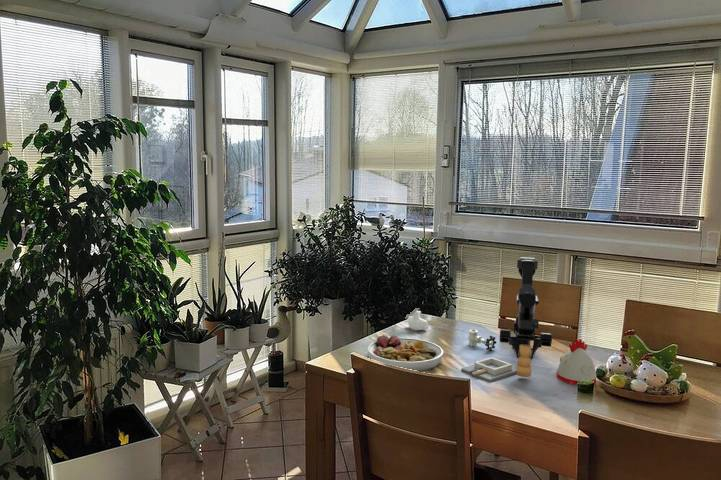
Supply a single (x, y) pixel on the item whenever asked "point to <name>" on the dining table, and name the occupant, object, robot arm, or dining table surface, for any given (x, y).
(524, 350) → the tan ribbed cylinder
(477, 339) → the valve
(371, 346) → the bowl
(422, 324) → the duck figurine
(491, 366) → the plate
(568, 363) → the kitchen timer
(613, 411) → the dining table surface
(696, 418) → the dining table surface
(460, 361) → the dining table surface
